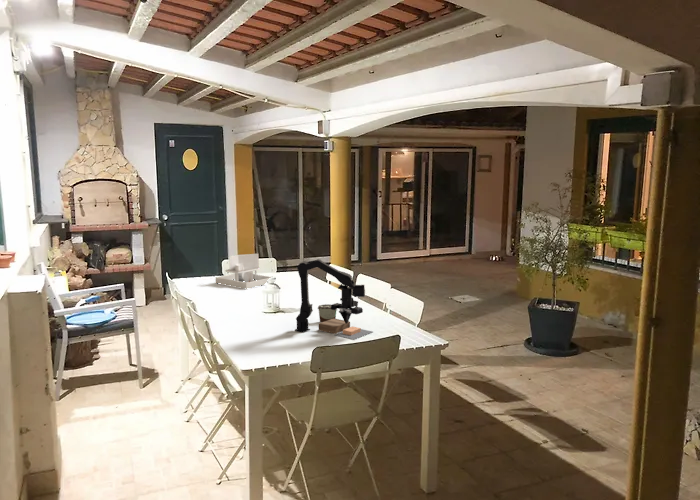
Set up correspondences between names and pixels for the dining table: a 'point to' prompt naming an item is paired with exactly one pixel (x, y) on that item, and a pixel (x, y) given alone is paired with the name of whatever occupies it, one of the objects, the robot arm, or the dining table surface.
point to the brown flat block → (333, 326)
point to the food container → (326, 312)
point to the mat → (355, 336)
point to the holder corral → (228, 281)
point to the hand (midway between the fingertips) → (346, 323)
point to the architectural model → (244, 266)
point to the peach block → (351, 330)
